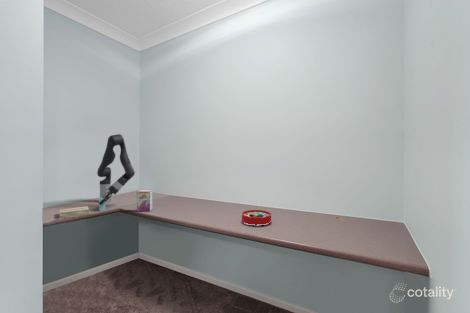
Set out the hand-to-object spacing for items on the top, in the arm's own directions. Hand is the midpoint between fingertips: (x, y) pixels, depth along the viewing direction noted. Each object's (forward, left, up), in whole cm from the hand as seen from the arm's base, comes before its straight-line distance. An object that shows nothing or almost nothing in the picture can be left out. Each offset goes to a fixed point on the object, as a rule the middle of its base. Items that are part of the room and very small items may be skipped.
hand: (99, 203), depth 190 cm
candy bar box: (+23, +30, -6) cm, 38 cm away
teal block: (0, +2, -6) cm, 6 cm away
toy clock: (+99, +85, -6) cm, 130 cm away
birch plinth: (+3, -17, -6) cm, 18 cm away
